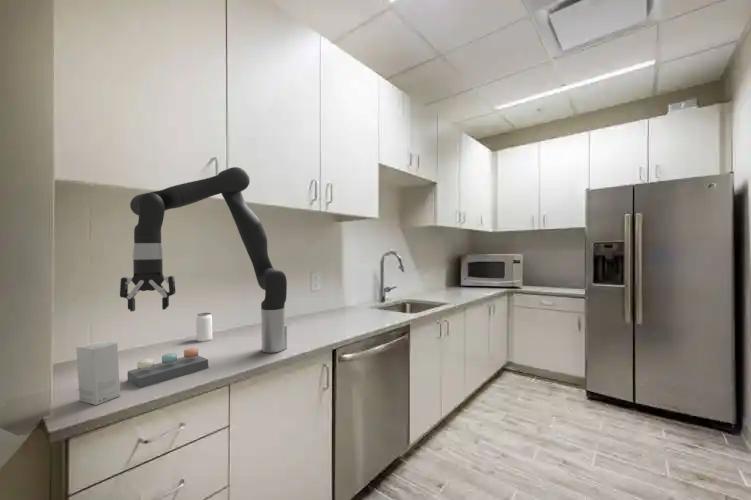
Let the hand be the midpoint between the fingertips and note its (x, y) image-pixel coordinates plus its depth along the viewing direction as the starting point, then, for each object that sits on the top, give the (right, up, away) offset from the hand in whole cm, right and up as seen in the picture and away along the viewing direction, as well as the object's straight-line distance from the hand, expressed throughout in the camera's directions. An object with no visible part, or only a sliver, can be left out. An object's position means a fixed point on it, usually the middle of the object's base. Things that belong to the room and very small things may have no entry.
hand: (148, 310), depth 105 cm
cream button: (-3, -19, +4) cm, 20 cm away
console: (+1, -23, +9) cm, 25 cm away
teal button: (+1, -19, +9) cm, 21 cm away
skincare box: (-8, -24, -9) cm, 27 cm away
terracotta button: (+5, -19, +15) cm, 24 cm away
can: (-8, -23, +50) cm, 56 cm away
